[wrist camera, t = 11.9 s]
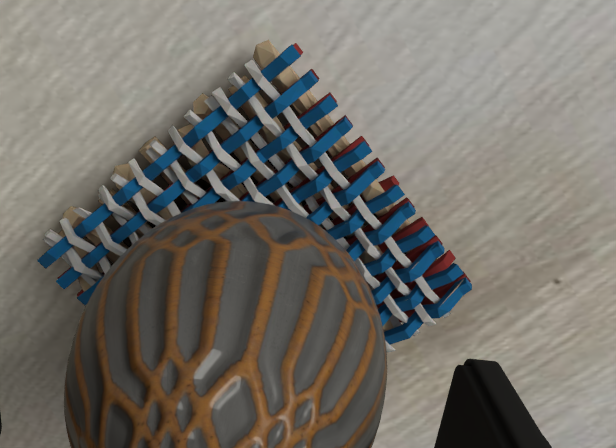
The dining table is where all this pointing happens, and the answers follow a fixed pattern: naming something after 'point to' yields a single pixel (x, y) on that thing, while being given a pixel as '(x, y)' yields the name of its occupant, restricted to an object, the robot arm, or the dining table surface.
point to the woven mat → (274, 193)
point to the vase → (229, 339)
